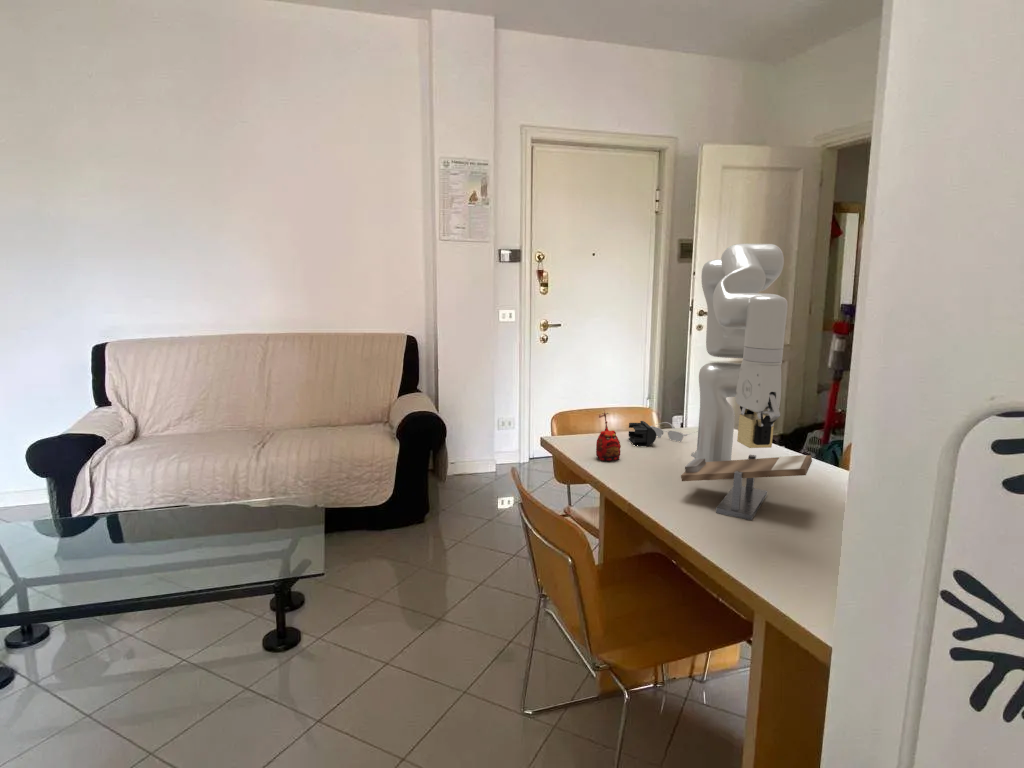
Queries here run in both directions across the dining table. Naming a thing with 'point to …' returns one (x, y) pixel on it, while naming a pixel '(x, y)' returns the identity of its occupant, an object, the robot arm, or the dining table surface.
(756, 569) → the dining table surface
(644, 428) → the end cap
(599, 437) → the red clay folk toy
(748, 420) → the tan wooden cube
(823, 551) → the dining table surface
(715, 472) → the balance beam
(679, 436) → the eyeglasses
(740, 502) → the beam stand
